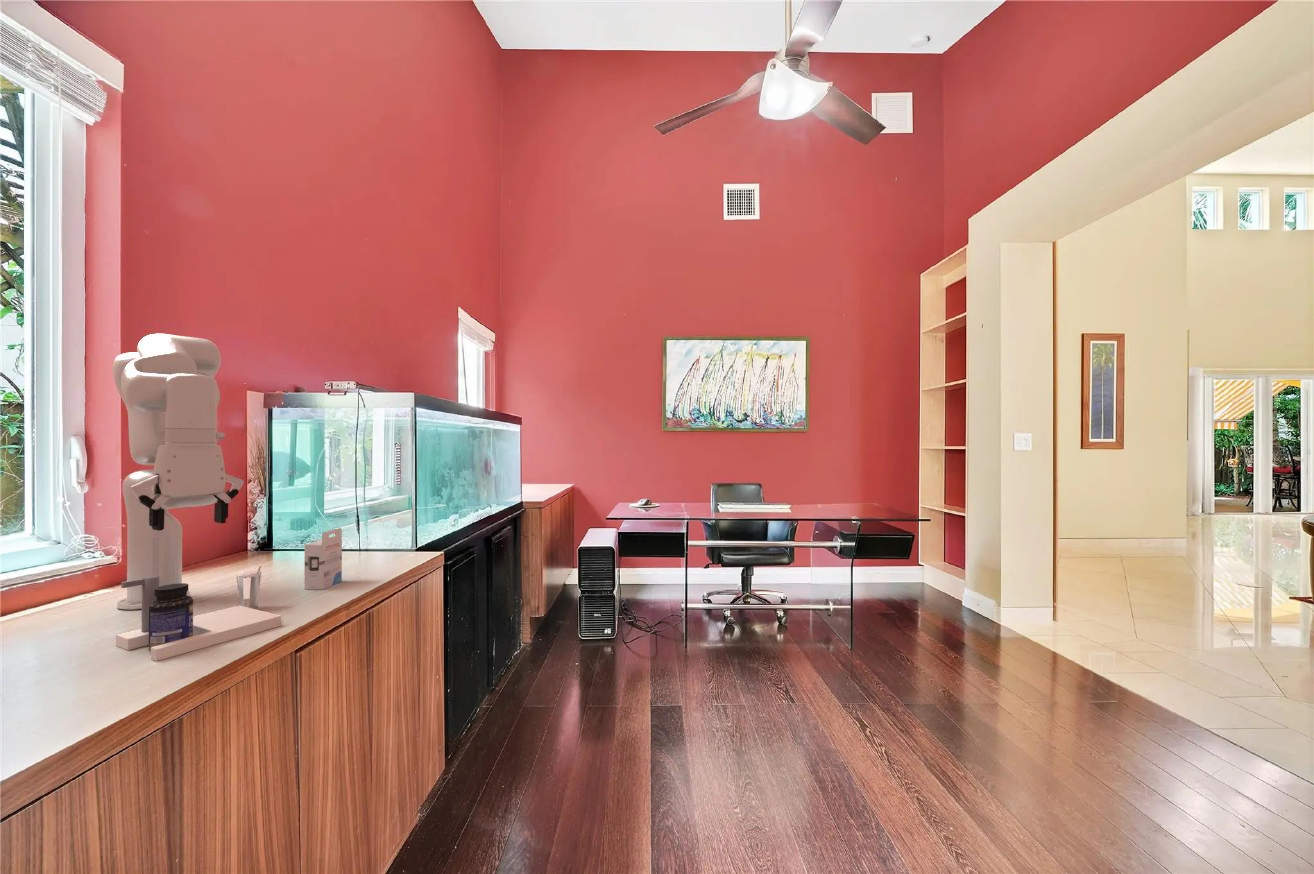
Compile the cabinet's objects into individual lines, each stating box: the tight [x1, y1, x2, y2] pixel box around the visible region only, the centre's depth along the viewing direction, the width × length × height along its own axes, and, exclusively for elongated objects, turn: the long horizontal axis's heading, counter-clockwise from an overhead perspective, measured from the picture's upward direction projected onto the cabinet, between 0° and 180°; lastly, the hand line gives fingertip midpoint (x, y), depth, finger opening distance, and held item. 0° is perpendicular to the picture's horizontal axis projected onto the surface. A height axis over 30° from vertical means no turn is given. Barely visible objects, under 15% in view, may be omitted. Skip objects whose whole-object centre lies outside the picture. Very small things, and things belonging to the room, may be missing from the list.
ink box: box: [303, 527, 343, 591], centre depth 141 cm, size 9×5×15 cm, turn 179°
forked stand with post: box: [115, 576, 282, 662], centre depth 104 cm, size 16×20×12 cm
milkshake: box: [236, 565, 263, 610], centre depth 120 cm, size 5×5×10 cm
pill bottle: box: [148, 582, 194, 651], centre depth 98 cm, size 6×6×11 cm
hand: (190, 526), depth 103 cm, fingers open, 9 cm apart
